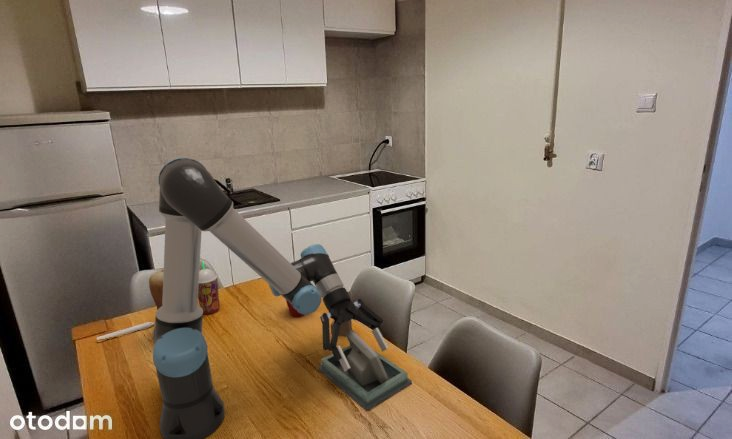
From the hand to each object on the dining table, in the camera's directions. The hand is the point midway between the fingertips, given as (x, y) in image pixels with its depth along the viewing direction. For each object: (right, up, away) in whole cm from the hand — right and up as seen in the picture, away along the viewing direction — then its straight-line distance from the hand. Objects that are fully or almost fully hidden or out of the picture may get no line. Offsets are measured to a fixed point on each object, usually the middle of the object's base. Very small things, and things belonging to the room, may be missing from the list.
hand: (367, 359), depth 118 cm
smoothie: (-60, +4, +45) cm, 75 cm away
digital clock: (0, -5, +4) cm, 6 cm away
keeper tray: (-1, -6, +4) cm, 7 cm away
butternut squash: (-65, -1, +29) cm, 71 cm away
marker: (-84, -2, +31) cm, 90 cm away
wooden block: (-9, 0, +26) cm, 28 cm away
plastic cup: (-26, +4, +40) cm, 48 cm away
